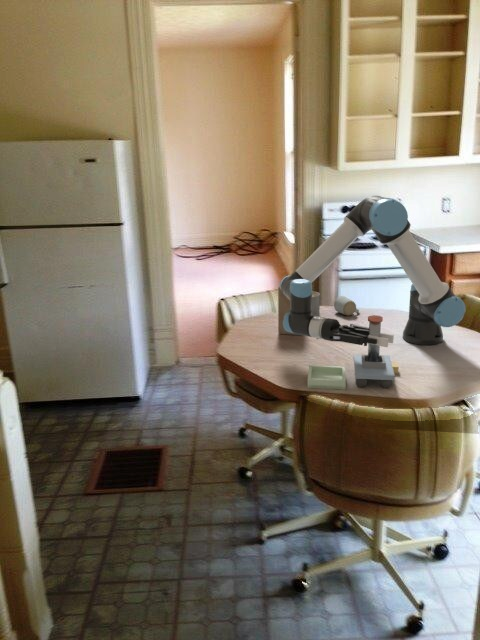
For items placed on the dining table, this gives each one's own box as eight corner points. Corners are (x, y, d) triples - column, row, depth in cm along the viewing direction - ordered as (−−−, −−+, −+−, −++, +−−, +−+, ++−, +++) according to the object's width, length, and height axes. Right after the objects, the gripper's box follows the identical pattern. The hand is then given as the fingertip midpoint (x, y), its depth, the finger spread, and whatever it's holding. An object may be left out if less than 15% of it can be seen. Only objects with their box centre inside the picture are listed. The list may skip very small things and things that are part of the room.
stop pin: (379, 358, 188) (382, 315, 183) (381, 363, 183) (383, 319, 179) (365, 358, 188) (367, 315, 184) (366, 363, 184) (368, 319, 180)
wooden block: (302, 335, 231) (303, 287, 225) (278, 334, 233) (278, 287, 227) (304, 327, 240) (305, 282, 234) (281, 326, 242) (281, 281, 236)
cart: (396, 369, 195) (398, 350, 193) (402, 390, 178) (404, 370, 176) (353, 367, 197) (353, 348, 195) (355, 388, 180) (355, 368, 178)
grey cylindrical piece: (310, 319, 251) (310, 297, 248) (292, 315, 258) (293, 294, 255) (328, 313, 260) (329, 292, 257) (311, 309, 267) (311, 288, 264)
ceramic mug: (343, 317, 253) (344, 300, 251) (333, 312, 261) (334, 296, 258) (362, 314, 258) (363, 298, 255) (352, 310, 265) (353, 294, 263)
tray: (344, 374, 191) (345, 366, 190) (345, 389, 180) (345, 380, 179) (308, 373, 193) (309, 365, 192) (307, 387, 182) (307, 379, 181)
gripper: (336, 332, 201) (399, 344, 188) (312, 346, 189) (379, 360, 175) (336, 312, 199) (401, 323, 185) (313, 324, 187) (380, 337, 173)
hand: (390, 341), depth 180 cm, fingers closed on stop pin, 3 cm apart
